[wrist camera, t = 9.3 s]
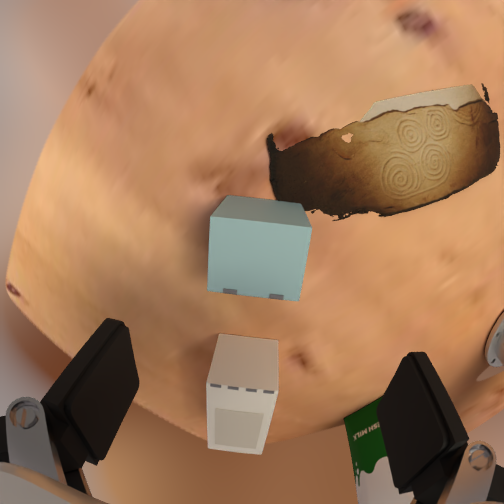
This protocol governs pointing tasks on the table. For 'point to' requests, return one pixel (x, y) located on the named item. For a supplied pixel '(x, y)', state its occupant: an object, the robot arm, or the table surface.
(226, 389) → the block
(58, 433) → the robot arm
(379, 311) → the table surface
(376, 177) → the parchment
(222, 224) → the stub
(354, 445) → the milk carton
